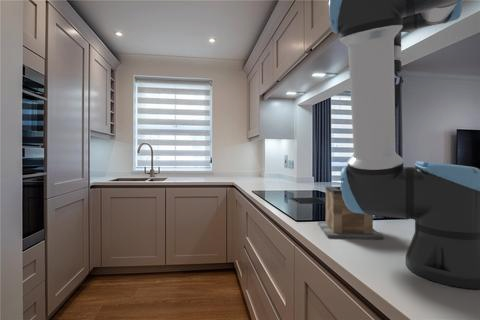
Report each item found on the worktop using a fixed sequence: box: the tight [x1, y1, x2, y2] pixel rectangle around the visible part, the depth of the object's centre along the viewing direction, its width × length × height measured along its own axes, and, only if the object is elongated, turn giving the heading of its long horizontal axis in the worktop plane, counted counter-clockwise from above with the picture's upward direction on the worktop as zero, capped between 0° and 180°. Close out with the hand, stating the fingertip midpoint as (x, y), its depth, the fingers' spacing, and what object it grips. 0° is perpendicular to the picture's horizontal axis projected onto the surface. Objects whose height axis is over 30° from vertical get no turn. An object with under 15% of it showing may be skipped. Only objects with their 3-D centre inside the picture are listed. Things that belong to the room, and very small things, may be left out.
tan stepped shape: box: [317, 186, 384, 240], centre depth 88 cm, size 16×16×14 cm
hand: (388, 129), depth 94 cm, fingers closed
